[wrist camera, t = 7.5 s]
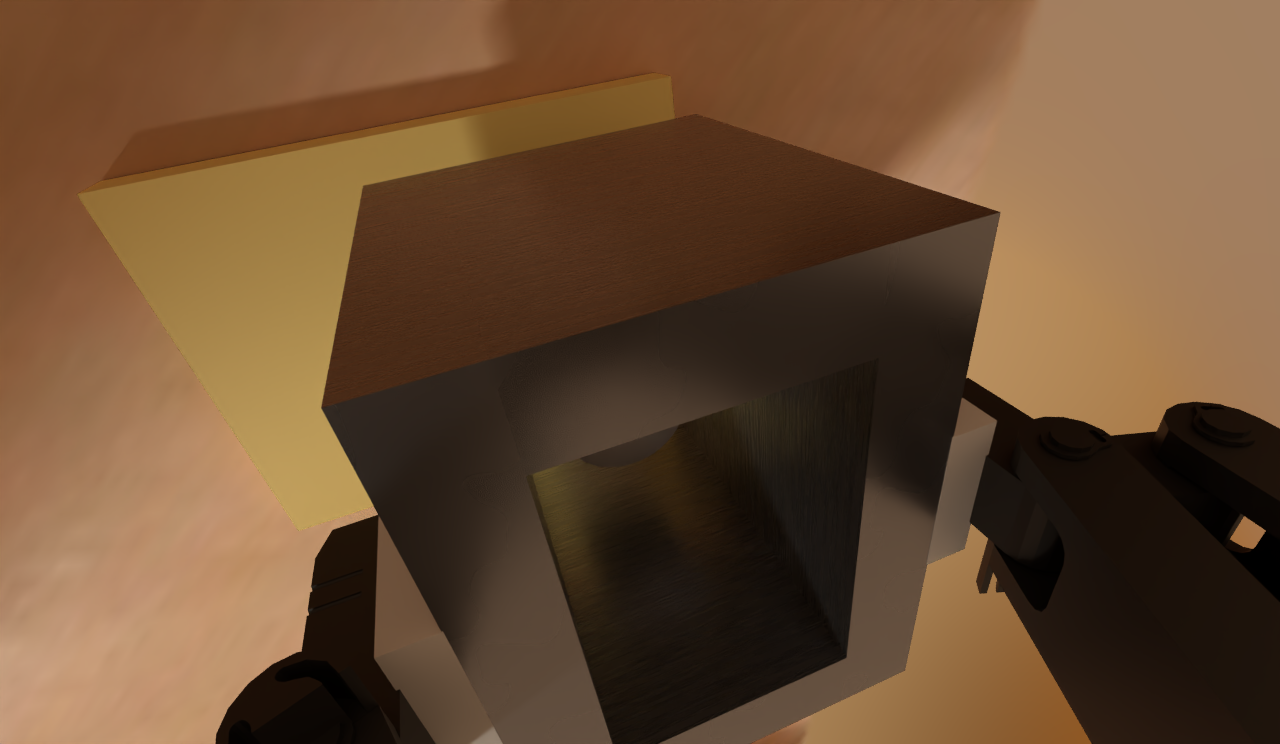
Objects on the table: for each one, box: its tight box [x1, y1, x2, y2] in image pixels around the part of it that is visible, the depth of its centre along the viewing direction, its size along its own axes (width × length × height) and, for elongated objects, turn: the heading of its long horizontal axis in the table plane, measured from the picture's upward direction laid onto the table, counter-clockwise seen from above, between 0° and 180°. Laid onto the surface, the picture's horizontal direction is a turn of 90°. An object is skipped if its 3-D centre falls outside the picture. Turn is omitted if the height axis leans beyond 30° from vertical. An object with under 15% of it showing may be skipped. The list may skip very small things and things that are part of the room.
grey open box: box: [321, 114, 1000, 744], centre depth 11 cm, size 9×7×8 cm
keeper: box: [77, 73, 679, 531], centre depth 14 cm, size 13×10×7 cm
